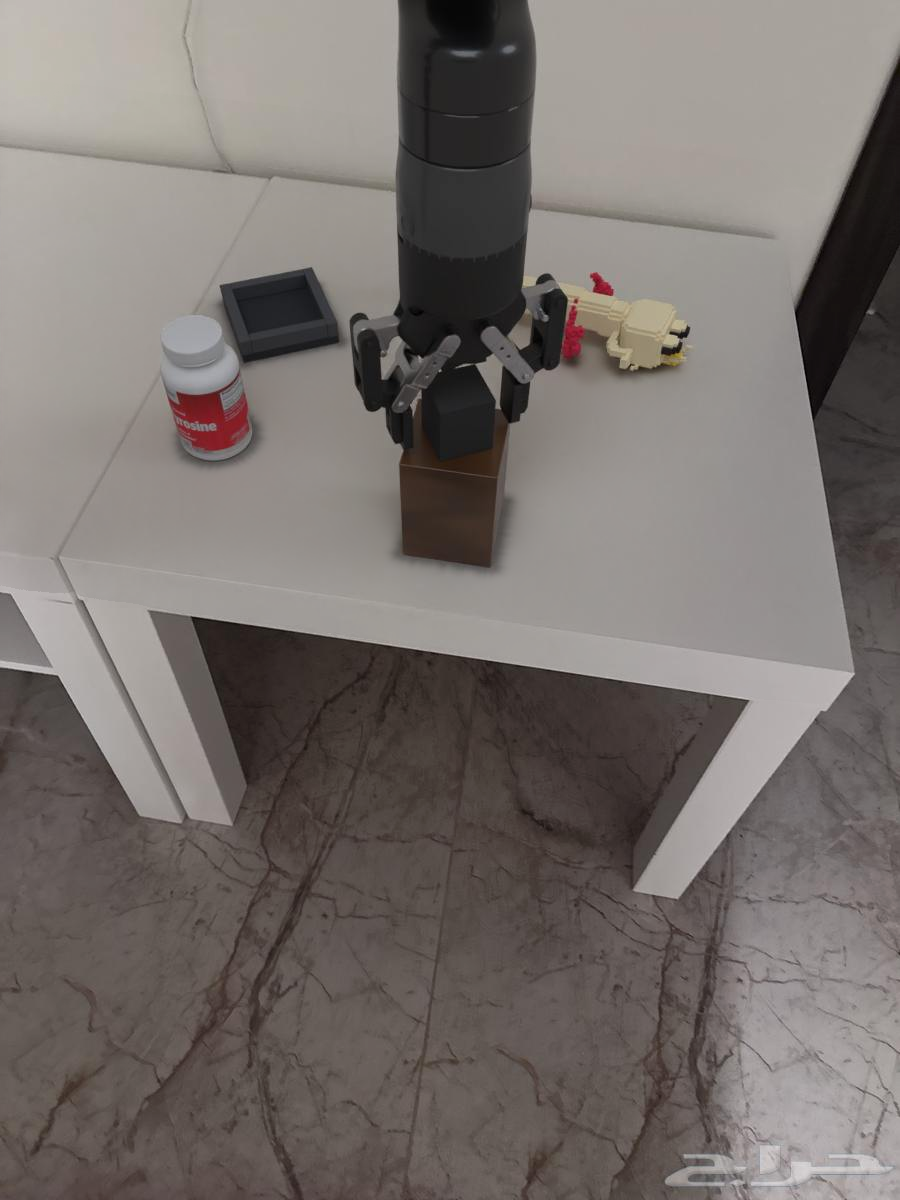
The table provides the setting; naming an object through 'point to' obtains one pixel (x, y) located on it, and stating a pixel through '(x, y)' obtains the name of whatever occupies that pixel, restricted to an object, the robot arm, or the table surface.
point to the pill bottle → (204, 388)
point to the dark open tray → (279, 314)
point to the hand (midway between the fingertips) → (457, 428)
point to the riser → (452, 498)
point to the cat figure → (622, 325)
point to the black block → (458, 413)
